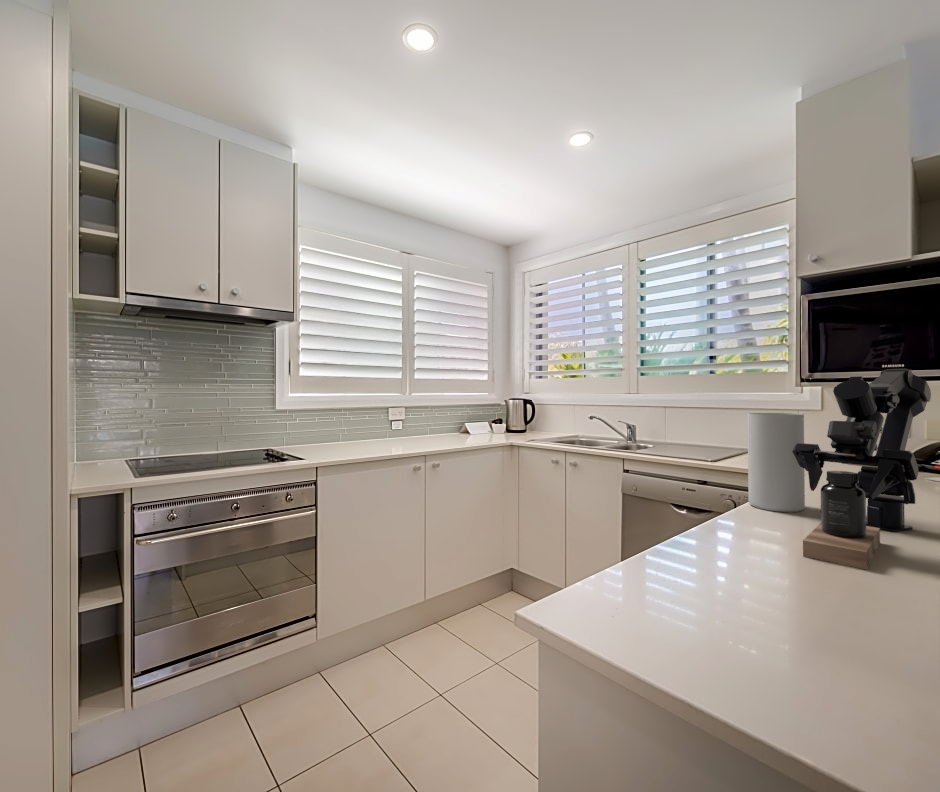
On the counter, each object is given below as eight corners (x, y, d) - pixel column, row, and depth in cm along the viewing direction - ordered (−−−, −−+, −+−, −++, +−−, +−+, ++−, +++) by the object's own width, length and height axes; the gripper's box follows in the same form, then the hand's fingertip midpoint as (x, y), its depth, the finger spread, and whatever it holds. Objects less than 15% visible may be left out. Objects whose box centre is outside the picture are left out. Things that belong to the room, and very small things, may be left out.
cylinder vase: (755, 511, 118) (754, 414, 118) (743, 500, 129) (742, 412, 129) (812, 514, 114) (811, 414, 114) (794, 503, 126) (793, 412, 125)
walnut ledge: (824, 533, 98) (824, 519, 98) (879, 542, 92) (879, 528, 92) (803, 556, 85) (802, 540, 85) (866, 569, 78) (866, 552, 78)
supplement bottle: (876, 538, 85) (875, 474, 85) (843, 540, 85) (842, 475, 85) (843, 527, 92) (842, 468, 92) (812, 529, 92) (811, 469, 92)
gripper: (795, 405, 98) (772, 461, 92) (913, 407, 83) (893, 473, 77) (811, 439, 103) (790, 494, 97) (926, 447, 87) (908, 513, 81)
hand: (839, 493), depth 88 cm, fingers open, 9 cm apart
